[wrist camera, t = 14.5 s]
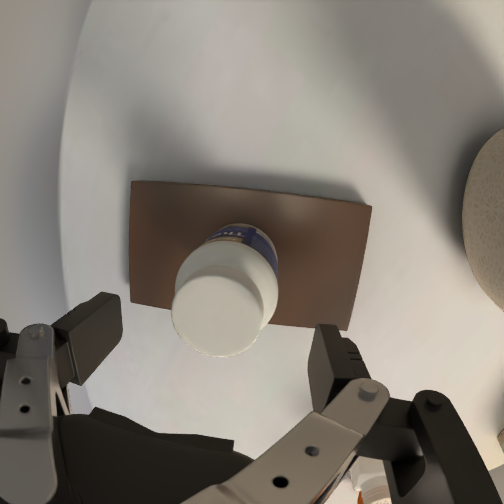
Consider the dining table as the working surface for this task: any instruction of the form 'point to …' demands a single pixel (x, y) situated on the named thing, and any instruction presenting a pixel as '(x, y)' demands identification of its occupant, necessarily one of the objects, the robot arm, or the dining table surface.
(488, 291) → the planter
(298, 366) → the dining table surface
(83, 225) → the dining table surface
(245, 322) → the pill bottle
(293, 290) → the board
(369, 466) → the pepper shaker
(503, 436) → the coffee cup
